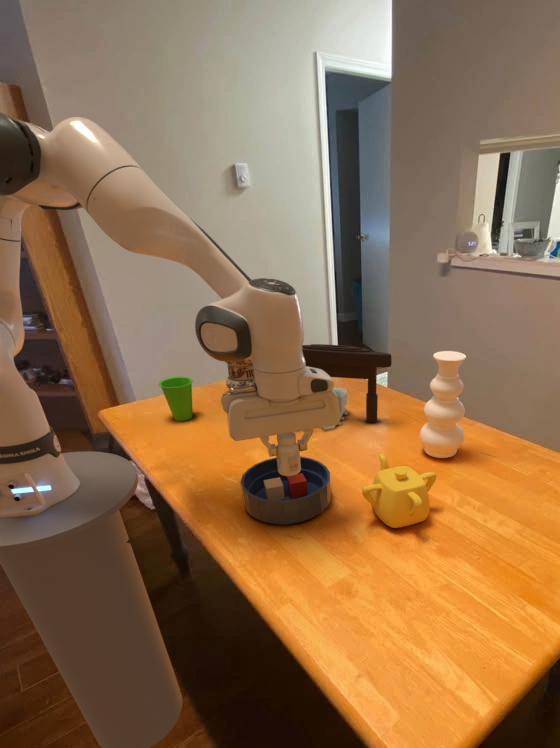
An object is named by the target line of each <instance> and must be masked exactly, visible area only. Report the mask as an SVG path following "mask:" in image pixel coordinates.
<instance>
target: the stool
mask: <svg viewBox="0 0 560 748" xmlns="http://www.w3.org/2000/svg"><path fill="white" fill-rule="evenodd" d="M302 351H303V355H304V358H305V362H306V366H308V367H313V368H318V369H322V370H323V371H325V372H326V373H327V374H328V375H329V376H330V377H331V378H339V379H340V378H341V379H356V380H358V379H359V380H360V379H361V380H367V392H366V395H365V420H366V422H367V423H371V424H372V423H374V424H376V423H377V421H378V408H379V407H378V404H379V403H378V401H379V400H378V399H379V398H378V396H379V394H378V393H377V383H378V382H377V380H378V379H377V376H378V375H377V374H378V368H384V369H385V368H390V367H392V363H393V361H392V354H391V353H387V352H381V351H371V349H368V348H362V347H359V346H351V345H343V344H342V345H340V344H320V343H314V344H313V343H311V344H303V346H302ZM333 391H334V392H335V394H336V395H337V397H338V401H339V407H340V421H339V422H338V424H337V425H335V426H328V427H322V428H321V429H323V431H325V432H326V431H329V430H330V431H331V430H333V429H336V426H341V424H342V422H341V421H344V420H345V416H348V415H349V412H348V411H346V406H347V405H348V392H349V391H347V389H345V388H342V387H334V388H333Z"/></svg>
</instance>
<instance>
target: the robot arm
mask: <svg viewBox="0 0 560 748" xmlns="http://www.w3.org/2000/svg"><path fill="white" fill-rule="evenodd" d="M31 206H38V207H39V208H41V209H43V210H57V211H59V210H60V211H71V210H79V209H82V208H83V209H84V211H85V212H86V213H87V214H88V215H89V216H90V217H91V219H92V220H93V221H94V223H95V224H96V225H97V226H98V227H99V228H100V229H101V231H103V232H104V234H105V235H106V236H108V237H109V238H110V239H111V240H112V241H113V242H115V243H116V244H117V245H119V246H120V247H122V248H123V249H124V250H126V251H129V252H131V253H135V254H138V255H143V256H150V257H156V258H160V259H165V260H169V261H172V262H176V263H179V264H181V265H183V266H185V267H187V268H189V269H190V270H192V271H193V272H194V273H196V274H197V275H198V276H199V277H200V278H201V279H202V280H203V281H204V282H205V283H206V284H207V285H208V286H209V287H210V288H211V289H212V290H213V291H214V292H215V293H216V294H217V295H218V297H220V298H221V299H218V300H216V301H213V302H210V303H208V304H207V305H205V306H203V307H202V308H200V309H199V311H198V312H197V313H196V317H195V322H194V328H195V329H194V331H195V335H196V339H197V341H198V343H199V345H200V346H201V348H202V350H203V351H204V352H205V353H206V354H207V355H208V356H209V357H211V358H212V359H214V360H216V361H219V362H224V361H237V360H243V359H249V360H251V361H252V363H253V369H254V377H255V385H249V386H243V387H238V388H237V387H233V388H229V389H228V390H226V391H225V392H224V393H222V395H221V399H220V400H221V401H220V402H221V406H222V409H223V411H224V413H225V414H226V424H227V430H228V435H229V438H230V439H232V440H233V441H234V442H241V441H246V440H254V439H258V438H260V441H261V443H262V444H263V445H264V446H265V447H266V449H267V454H268V456H269V457H270V458H272V457H276V456H277V448H276V446H277V445H276V443H270V437H272V436H277V435H278V434H285V433H291V432H294V433H297V432H303V434H302V437H301V439H296V443H297V444H298V445H299V451H300V452H305V451H308V443H309V442H310V440H311V437H312V435H313V430H314V429H323V428H322V427H328V426H335V427H336V426H338V425H337V424H338V422H341V420H340V407H339V401H338V397H337V395H336V394H335V392H334V391H333V388H335V383H334V380H333V377H330V376H329V375H328V374H327V373H326V372H325V371H323V370H322V369H318V368H313V367H308V366H306V362H305V358H304V355H303V351H302V346H303V345H304V340H305V333H304V331H305V330H304V320H303V314H302V313H303V312H302V307H301V301H300V299H299V296H298V293H297V291H296V288H294V287H293V286H292V285H290V283H288V282H285V281H283V280H281V279H275V278H266V277H263V278H262V277H261V278H260V277H259V278H253V279H252V278H251V277H249V275H247V273H245V271H244V270H243V269H242V268H241V267H240V266H239V265H238V264H237V263H236V262H235V261H234V259H232V257H230V256H229V254H227V252H226V251H225V250H224V249H223V248H222V247H221V246H220V245H219V244H218V243H217V242H216V241H215V240H214V239H213V238H212V237H211V236H210V235H209V234H208V232H207V231H205V230H204V229H203V228H202V227H201V226H200V225H199V224H198V223H196V222H195V221H194V220H193V219H192V218H190V217H189V216H188V215H187V214H186V213H185V212H184V211H182V210H181V209H180V207H178V206H177V205H176V204H175V203H174V202H173V201H172V200H171V199H170V198H169V197H168V196H167V195H166V194H165V193H164V192H163V191H162V190H161V189H160V188H159V187H158V186H157V184H155V182H154V181H153V180H152V179H151V178H150V177H149V175H148V174H147V173H146V172H145V171H144V169H143V168H142V167H141V166H140V165H139V164H138V162H137V161H136V160H135V158H134V157H132V156H131V154H130V153H129V152H128V151H127V150H126V149H125V148H124V147H123V146H122V145H121V144H120V143H119V142H117V140H115V138H114V137H112V136H111V134H109V132H107V131H106V130H105V129H104V128H102V127H101V126H100V125H99V124H98V123H96V122H95V121H93V120H91V119H89V118H86V117H83V116H73V117H68V118H65V119H63V120H61V121H60V122H58V123H57V125H55V127H54V128H53V129H52V130H51V131H49V130H46V129H45V128H42V127H40V126H38V125H36V124H34V123H31V122H28V121H23V120H21V119H17V118H15V117H12V116H9V115H7V114H5V113H3V112H1V111H0V518H7V517H18V516H29V515H37V514H39V513H41V512H43V511H44V510H46V509H47V508H49V507H50V506H52V505H54V504H56V503H58V502H60V501H62V500H64V499H66V498H68V497H69V496H71V495H72V494H73V493H75V492H76V491H77V489H78V488H79V486H80V481H79V479H78V478H77V477H76V476H75V475H74V473H73V472H72V470H71V469H70V468H69V466H68V464H67V463H66V461H65V459H64V458H63V456H62V454H61V453H62V448H61V444H60V441H59V439H58V436H57V434H56V433H55V431H54V428H53V427H52V426H51V425H50V424H49V422H48V419H47V416H46V413H45V411H44V409H43V406H42V404H41V400H40V398H39V396H38V394H37V393H36V391H35V390H34V389H33V388H30V386H29V385H28V384H27V382H26V381H25V380H24V378H23V377H22V375H21V374H20V372H19V370H18V369H17V367H16V363H15V357H16V356H17V355H18V354H19V353H20V352H21V350H23V346H24V343H25V337H26V336H25V335H26V331H25V326H24V318H23V307H22V300H21V292H20V291H21V290H20V270H21V248H22V247H21V245H22V220H23V214H24V212H25V211H26V209H28V208H29V207H31Z"/></svg>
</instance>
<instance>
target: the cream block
mask: <svg viewBox="0 0 560 748" xmlns="http://www.w3.org/2000/svg"><path fill="white" fill-rule="evenodd" d="M264 488H265V495H266V497H267V499H268V500H284V499H285V497H284V487H283V484H282V481H281V479H280V477H279V478H273V479H268V480H264Z"/></svg>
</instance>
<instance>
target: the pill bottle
mask: <svg viewBox="0 0 560 748" xmlns="http://www.w3.org/2000/svg"><path fill="white" fill-rule="evenodd" d="M276 440H277V444H276V445H275V446H276V448H277V456H275V458H276V457H277V465H278V472H279V473H280V474H281V475H283V476H293V475H296V474H298V473H299V472H300V471H301V463H300V456H301V451H299V445H298V443H297V435H296V432H291V433H285V434H278V435H276Z"/></svg>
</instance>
